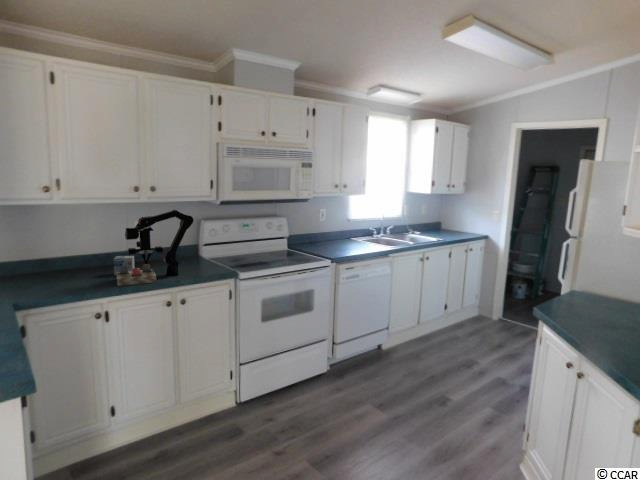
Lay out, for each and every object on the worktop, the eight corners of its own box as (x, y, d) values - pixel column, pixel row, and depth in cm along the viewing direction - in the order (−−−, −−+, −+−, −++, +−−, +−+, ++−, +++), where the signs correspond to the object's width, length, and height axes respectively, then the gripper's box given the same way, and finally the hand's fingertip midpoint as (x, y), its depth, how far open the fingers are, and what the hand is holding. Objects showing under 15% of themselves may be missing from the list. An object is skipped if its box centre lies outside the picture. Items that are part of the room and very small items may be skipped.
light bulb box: (114, 275, 246) (113, 258, 244) (116, 272, 252) (115, 256, 250) (133, 274, 249) (132, 257, 247) (135, 272, 255) (134, 255, 253)
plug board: (153, 275, 247) (152, 269, 247) (156, 282, 233) (156, 275, 233) (116, 279, 238) (116, 272, 237) (117, 285, 224) (117, 278, 223)
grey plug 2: (149, 271, 244) (149, 264, 243) (150, 272, 240) (150, 265, 240) (142, 271, 242) (142, 264, 241) (143, 273, 239) (142, 265, 238)
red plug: (140, 275, 234) (139, 267, 233) (140, 276, 231) (140, 269, 230) (132, 275, 232) (132, 268, 232) (133, 277, 229) (132, 269, 228)
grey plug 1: (127, 273, 238) (127, 265, 238) (128, 274, 235) (127, 267, 234) (120, 273, 236) (119, 266, 236) (120, 275, 233) (120, 267, 232)
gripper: (160, 235, 249) (161, 260, 252) (126, 237, 241) (128, 263, 243) (162, 238, 240) (163, 264, 242) (127, 240, 231) (129, 266, 233)
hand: (146, 264), depth 241 cm, fingers closed
